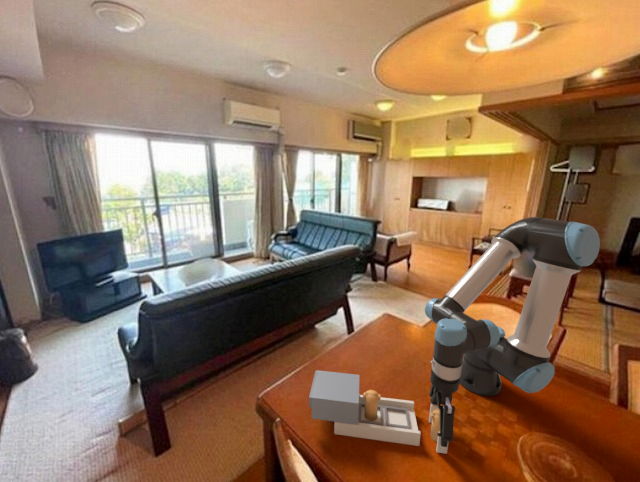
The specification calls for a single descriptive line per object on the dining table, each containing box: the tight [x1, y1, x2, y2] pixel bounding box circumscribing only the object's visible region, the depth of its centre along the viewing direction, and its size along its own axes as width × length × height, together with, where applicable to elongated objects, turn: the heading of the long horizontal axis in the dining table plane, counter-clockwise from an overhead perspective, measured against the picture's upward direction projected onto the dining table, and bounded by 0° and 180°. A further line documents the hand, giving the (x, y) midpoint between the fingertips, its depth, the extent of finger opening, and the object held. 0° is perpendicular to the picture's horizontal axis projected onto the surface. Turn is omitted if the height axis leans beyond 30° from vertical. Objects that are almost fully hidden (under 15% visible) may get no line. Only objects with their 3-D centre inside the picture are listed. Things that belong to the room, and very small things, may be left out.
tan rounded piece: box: [362, 389, 381, 421], centre depth 88 cm, size 5×4×8 cm
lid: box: [308, 369, 360, 425], centre depth 90 cm, size 15×12×8 cm
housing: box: [333, 394, 422, 447], centre depth 89 cm, size 25×12×4 cm, turn 81°
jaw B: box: [429, 410, 440, 443], centre depth 84 cm, size 5×4×8 cm
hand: (437, 436), depth 85 cm, fingers open, 9 cm apart
